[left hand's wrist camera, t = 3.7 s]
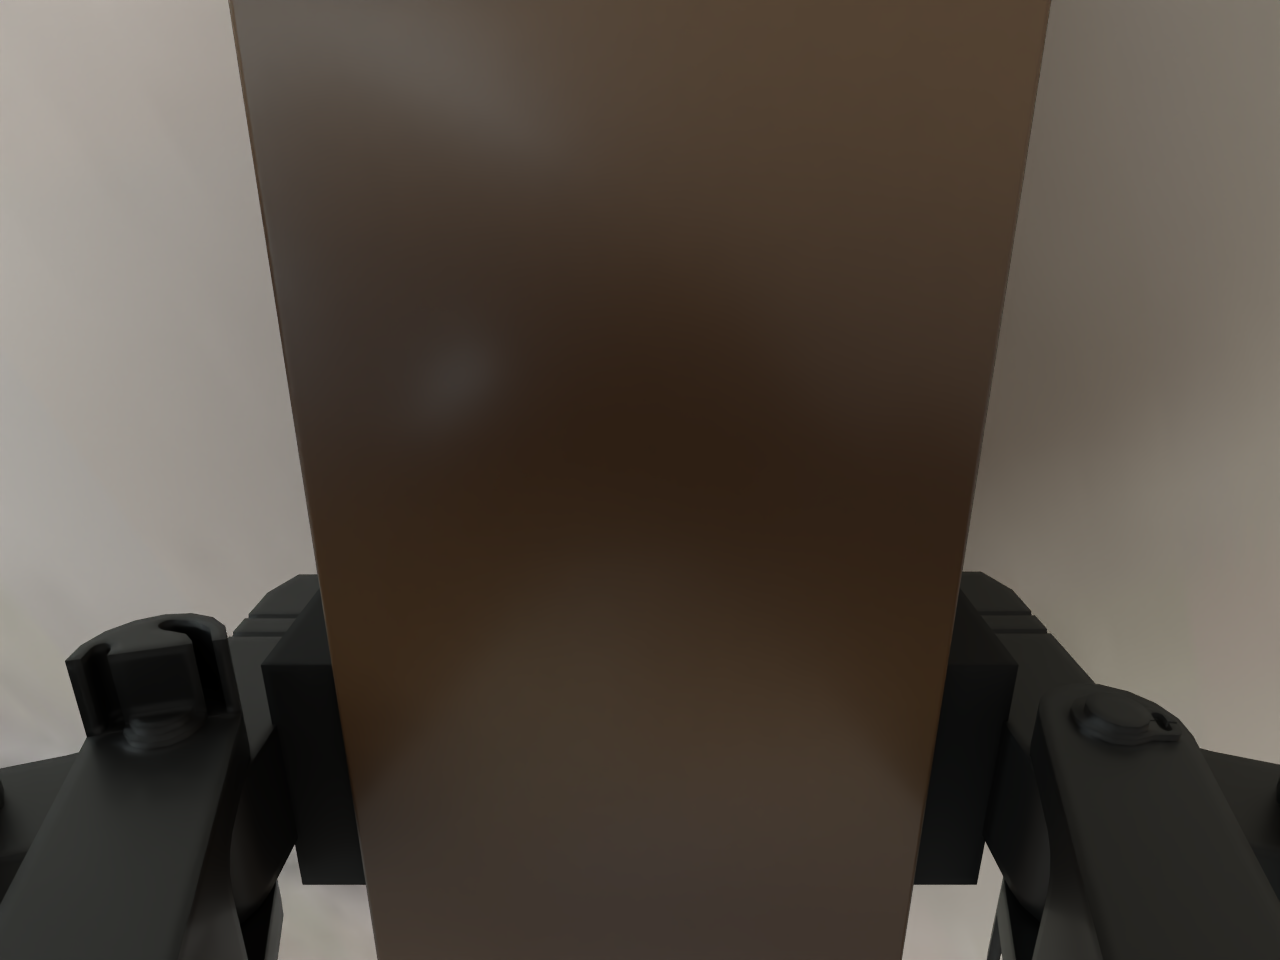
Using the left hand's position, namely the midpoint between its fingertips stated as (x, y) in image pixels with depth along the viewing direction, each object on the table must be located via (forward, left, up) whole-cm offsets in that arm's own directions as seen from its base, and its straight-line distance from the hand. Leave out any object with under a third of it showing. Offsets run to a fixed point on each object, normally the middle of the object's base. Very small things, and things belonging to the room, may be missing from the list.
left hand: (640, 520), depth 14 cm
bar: (+2, +22, -1) cm, 22 cm away
